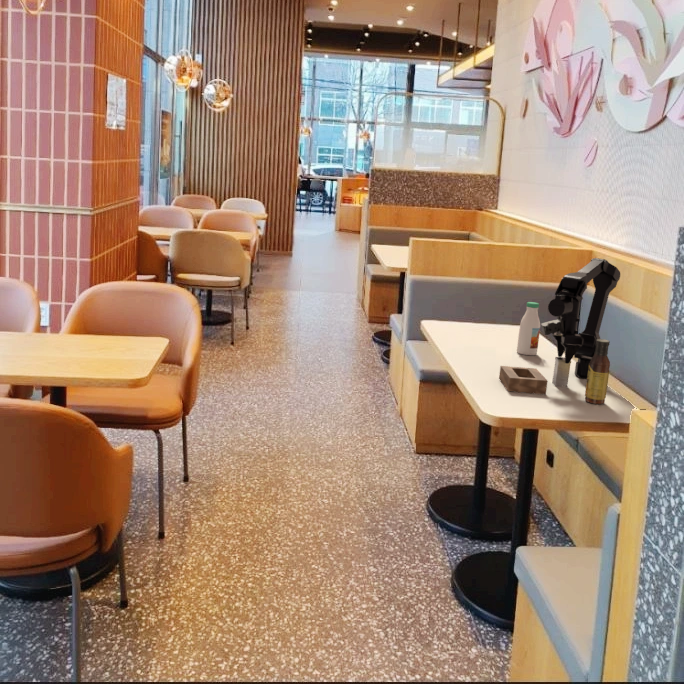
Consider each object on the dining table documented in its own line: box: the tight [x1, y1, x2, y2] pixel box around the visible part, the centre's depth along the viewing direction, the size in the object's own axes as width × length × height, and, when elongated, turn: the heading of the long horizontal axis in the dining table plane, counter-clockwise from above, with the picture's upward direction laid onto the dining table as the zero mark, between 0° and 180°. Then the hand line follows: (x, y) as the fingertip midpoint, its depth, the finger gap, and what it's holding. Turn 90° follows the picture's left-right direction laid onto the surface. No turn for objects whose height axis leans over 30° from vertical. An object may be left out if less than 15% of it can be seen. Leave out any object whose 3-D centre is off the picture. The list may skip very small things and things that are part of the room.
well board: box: [498, 365, 549, 395], centre depth 273 cm, size 12×16×4 cm
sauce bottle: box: [584, 338, 611, 405], centre depth 259 cm, size 6×6×20 cm
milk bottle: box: [516, 301, 541, 356], centre depth 324 cm, size 8×8×20 cm
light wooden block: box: [552, 356, 572, 388], centre depth 279 cm, size 4×4×9 cm
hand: (563, 360), depth 278 cm, fingers open, 9 cm apart
